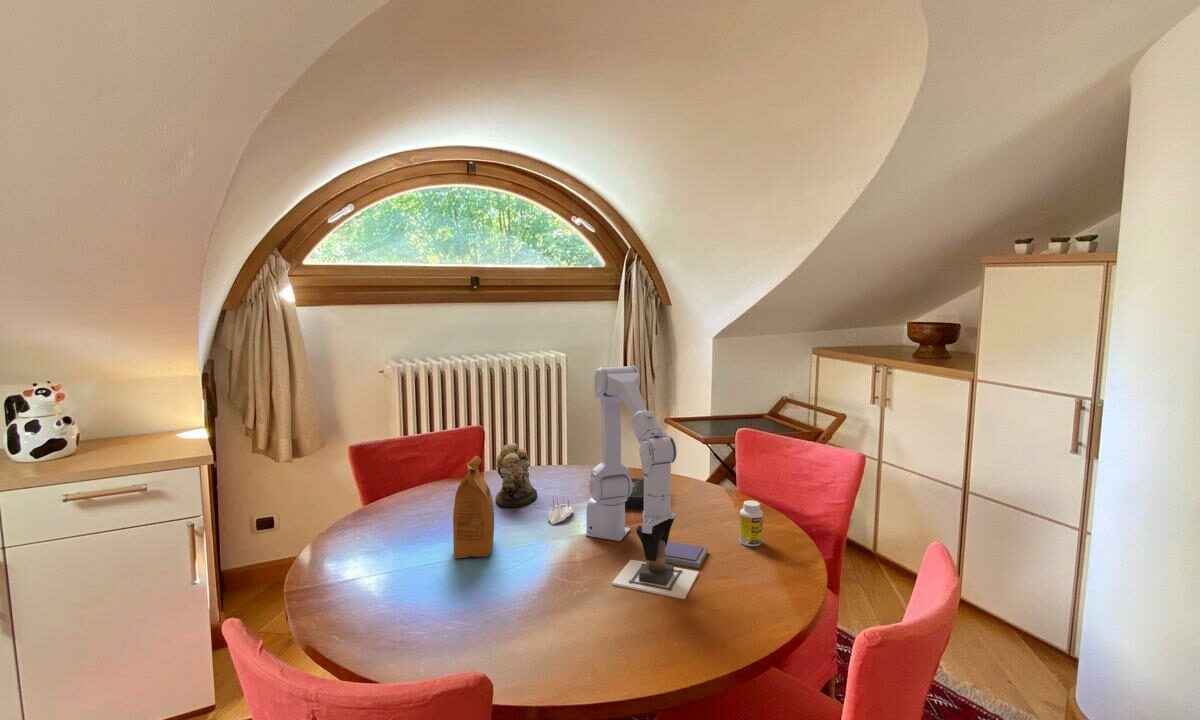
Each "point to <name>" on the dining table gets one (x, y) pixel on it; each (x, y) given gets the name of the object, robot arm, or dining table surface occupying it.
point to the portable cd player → (636, 495)
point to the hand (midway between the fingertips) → (656, 552)
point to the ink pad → (685, 554)
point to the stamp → (657, 569)
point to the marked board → (674, 588)
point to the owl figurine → (514, 477)
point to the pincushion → (559, 512)
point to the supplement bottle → (751, 524)
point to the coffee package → (473, 515)
